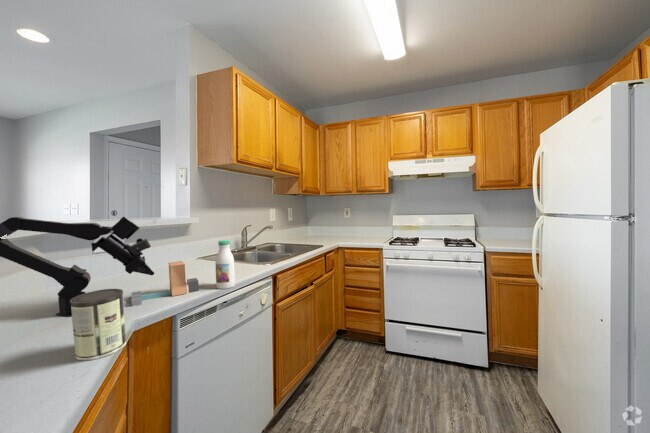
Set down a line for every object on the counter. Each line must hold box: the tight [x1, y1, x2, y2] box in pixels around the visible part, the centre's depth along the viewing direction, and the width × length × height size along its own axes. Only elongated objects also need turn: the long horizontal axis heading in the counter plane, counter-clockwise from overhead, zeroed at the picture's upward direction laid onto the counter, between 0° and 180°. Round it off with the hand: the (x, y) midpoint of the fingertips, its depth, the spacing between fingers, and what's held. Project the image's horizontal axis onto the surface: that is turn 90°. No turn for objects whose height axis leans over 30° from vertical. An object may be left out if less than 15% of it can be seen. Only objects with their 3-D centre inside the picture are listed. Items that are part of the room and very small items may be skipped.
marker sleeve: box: [168, 260, 187, 297], centre depth 113 cm, size 5×7×12 cm
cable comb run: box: [131, 277, 200, 307], centre depth 111 cm, size 23×12×4 cm, turn 125°
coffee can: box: [70, 288, 127, 361], centre depth 70 cm, size 10×10×14 cm
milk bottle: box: [215, 239, 236, 290], centre depth 120 cm, size 8×8×20 cm
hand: (153, 274), depth 108 cm, fingers closed
